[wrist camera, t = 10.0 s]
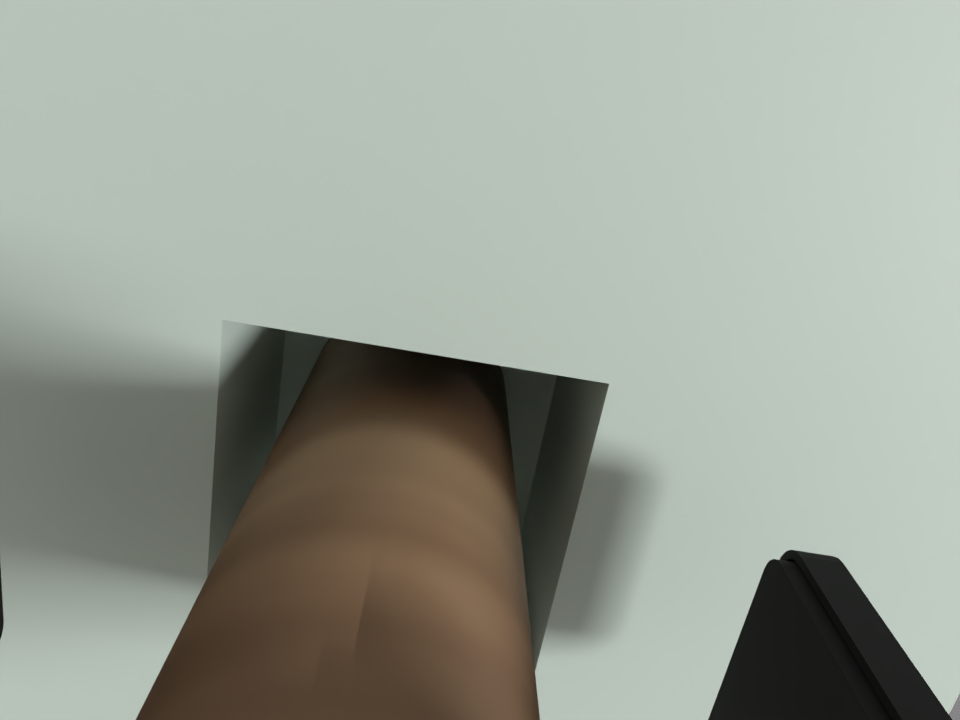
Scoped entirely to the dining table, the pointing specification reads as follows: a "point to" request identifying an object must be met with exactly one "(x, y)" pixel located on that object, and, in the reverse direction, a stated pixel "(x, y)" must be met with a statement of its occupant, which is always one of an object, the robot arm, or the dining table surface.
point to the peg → (369, 559)
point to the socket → (485, 307)
